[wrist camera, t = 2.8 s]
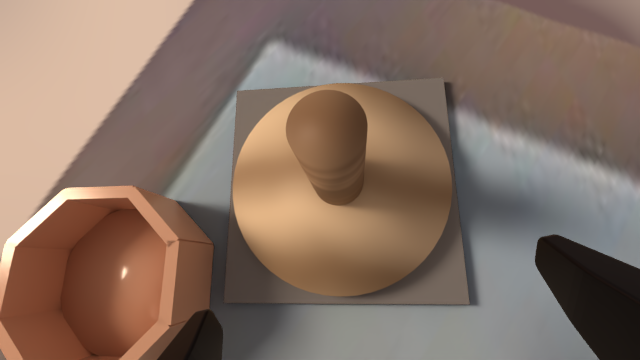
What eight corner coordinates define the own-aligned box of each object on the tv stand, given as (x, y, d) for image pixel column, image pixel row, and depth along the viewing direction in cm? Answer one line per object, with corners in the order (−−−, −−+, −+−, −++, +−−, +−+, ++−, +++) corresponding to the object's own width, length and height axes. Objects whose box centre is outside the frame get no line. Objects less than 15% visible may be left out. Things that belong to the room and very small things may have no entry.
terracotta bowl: (204, 367, 20) (163, 395, 16) (49, 363, 21) (-29, 388, 17) (217, 199, 23) (184, 184, 19) (78, 203, 24) (17, 189, 20)
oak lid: (459, 295, 19) (552, 323, 10) (231, 294, 21) (132, 318, 12) (436, 84, 23) (489, -36, 14) (243, 96, 24) (174, -5, 15)
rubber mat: (466, 303, 20) (469, 304, 19) (226, 302, 21) (223, 302, 21) (441, 81, 23) (443, 77, 23) (239, 94, 25) (237, 90, 24)
